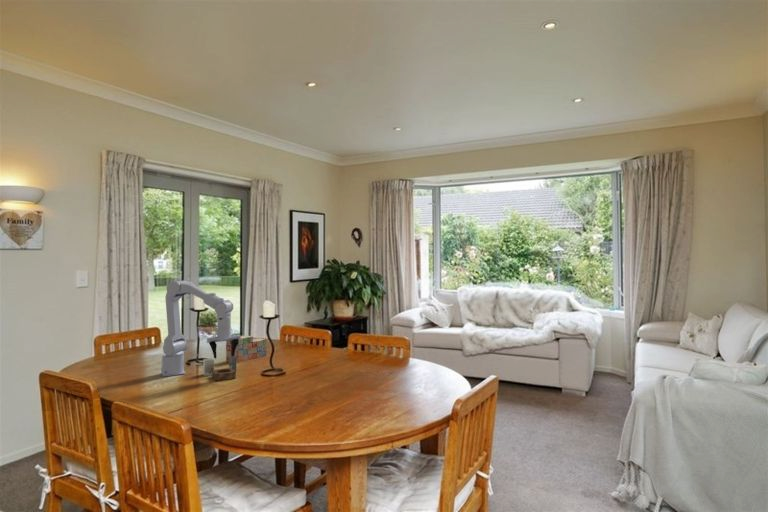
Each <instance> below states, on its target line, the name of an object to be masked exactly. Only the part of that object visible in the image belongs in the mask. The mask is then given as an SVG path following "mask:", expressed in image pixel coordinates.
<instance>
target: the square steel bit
mask: <svg viewBox="0 0 768 512" xmlns="http://www.w3.org/2000/svg"><path fill="white" fill-rule="evenodd" d="M202 360H203V362H202V374H203V376H204V377H208V376H212V370H215V359H214V358H212V357H211V358H203V359H202Z"/></svg>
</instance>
